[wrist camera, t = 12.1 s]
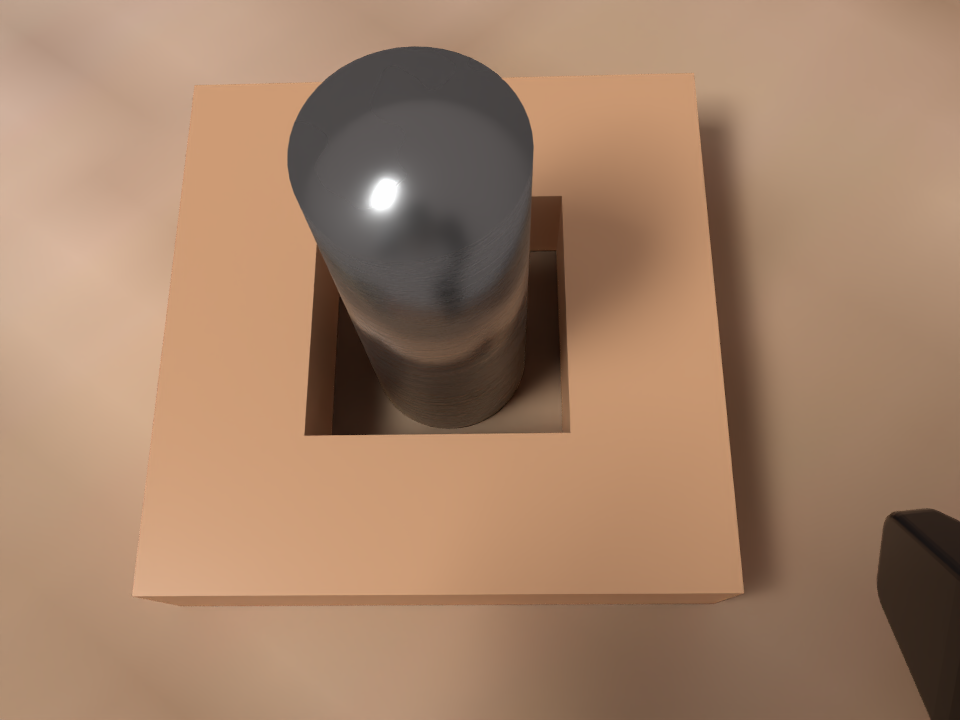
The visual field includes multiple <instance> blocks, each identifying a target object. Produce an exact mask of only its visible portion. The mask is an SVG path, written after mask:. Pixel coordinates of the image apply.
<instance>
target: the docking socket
mask: <svg viewBox="0 0 960 720" xmlns="http://www.w3.org/2000/svg"><path fill="white" fill-rule="evenodd" d="M502 79H503V80H504V81H505V82H506V83H507V84H508V85H509V86H510V87H511V89H512V90H513V91H514V92H515V93H516V95H517V96H518V98H519V100H520V101H521V103H522V105H523V106H524V109H525V111H526V113H527V116H528V118H529V121H530V125H531V129H532V134H533V144H534V152H533V176H532V201H531V225H530V250H529V251H544V250H557V279H558V309H559V339H560V369H561V398H562V428H563V433H507V434H417V435H332V421H333V403H334V385H335V366H336V348H337V329H338V311H339V292H338V289H337V287H336V285H335V283H334V281H333V278H332V276H331V274H330V272H329V270H328V267H327V265H326V263H325V261H324V259H323V256H322V254H321V252H320V250H319V247H318V245H317V243H316V241H315V239H314V236H313V234H312V232H311V230H310V228H309V225H308V223H307V221H306V219H305V217H304V214H303V212H302V210H301V208H300V206H299V203H298V201H297V199H296V197H295V195H294V192H293V189H292V186H291V183H290V179H289V173H288V166H287V151H288V144H289V138H290V134H291V131H292V128H293V125H294V122H295V120H296V118H297V116H298V114H299V112H300V110H301V108H302V107H303V105H304V104H305V102H306V101H307V99H308V98H309V97H310V95H311V94H312V93H313V92H314V91H315V89H316V88H317V87H318V86H319V85H320V84H321V83H323V82H310V83H269V84H229V85H195V87H194V95H193V103H192V111H191V119H190V127H189V135H188V144H187V152H186V160H185V168H184V176H183V184H182V192H181V200H180V209H179V217H178V225H177V233H176V241H175V249H174V257H173V266H172V274H171V282H170V290H169V298H168V306H167V314H166V322H165V331H164V339H163V347H162V355H161V363H160V371H159V379H158V388H157V396H156V404H155V412H154V420H153V428H152V436H151V444H150V453H149V461H148V469H147V477H146V485H145V493H144V501H143V510H142V518H141V526H140V534H139V542H138V550H137V558H136V566H135V575H134V583H133V591H132V596H133V597H138V598H143V599H148V600H153V601H158V602H163V603H168V604H173V605H178V606H317V605H532V604H714V603H717V602H720V601H723V600H726V599H729V598H732V597H735V596H738V595H740V594H743V593H744V587H743V576H742V566H741V556H740V545H739V535H738V524H737V514H736V504H735V493H734V483H733V473H732V462H731V452H730V442H729V431H728V421H727V411H726V400H725V390H724V380H723V369H722V359H721V349H720V338H719V328H718V318H717V307H716V297H715V287H714V276H713V266H712V256H711V245H710V235H709V225H708V214H707V204H706V194H705V183H704V173H703V163H702V152H701V142H700V132H699V121H698V111H697V101H696V90H695V80H694V73H675V74H634V75H594V76H553V77H513V78H502Z"/></svg>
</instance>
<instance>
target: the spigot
mask: <svg viewBox="0 0 960 720" xmlns="http://www.w3.org/2000/svg"><path fill="white" fill-rule="evenodd" d="M533 152H534V144H533V134H532V129H531V125H530V121H529V118H528V116H527V113H526V111H525V109H524V106H523V105H522V103H521V101H520V100H519V98H518V96H517V95H516V93H515V92H514V91H513V90H512V89H511V87H510V86H509V85H508V84H507V83H506V82H505V81H504V80H503V79H502V78H501V77H500V76H499V75H498V74H497V73H495V72H494V71H492V70H491V69H489V68H488V67H487V66H485V65H483V64H482V63H480V62H478V61H476V60H474V59H472V58H470V57H467V56H465V55H462V54H459V53H456V52H452V51H449V50H445V49H439V48H432V47H401V48H394V49H388V50H383V51H379V52H376V53H373V54H369V55H367V56H364V57H362V58H360V59H357V60H355V61H353V62H351V63H349V64H347V65H346V66H344V67H342V68H340V69H339V70H338V71H336V72H335V73H333V74H332V75H331V76H329V77H328V78H327V79H326V80H325V81H324V82H323V83H321V84H320V85H319V86H318V87H317V88H316V89H315V91H314V92H313V93H312V94H311V95H310V97H309V98H308V99H307V101H306V102H305V104H304V105H303V107H302V108H301V110H300V112H299V114H298V116H297V118H296V120H295V122H294V125H293V128H292V131H291V134H290V138H289V144H288V151H287V166H288V173H289V179H290V183H291V186H292V189H293V192H294V195H295V197H296V199H297V201H298V203H299V206H300V208H301V210H302V212H303V214H304V217H305V219H306V221H307V223H308V225H309V228H310V230H311V232H312V234H313V236H314V239H315V241H316V243H317V245H318V247H319V250H320V252H321V254H322V256H323V259H324V261H325V263H326V265H327V267H328V270H329V272H330V274H331V276H332V278H333V281H334V283H335V285H336V287H337V289H338V292H339V294H340V296H341V298H342V300H343V303H344V305H345V307H346V309H347V311H348V314H349V316H350V318H351V320H352V322H353V325H354V327H355V329H356V331H357V333H358V336H359V338H360V340H361V342H362V344H363V347H364V349H365V351H366V353H367V356H368V358H369V360H370V362H371V364H372V367H373V369H374V371H375V373H376V375H377V378H378V380H379V382H380V384H381V386H382V388H383V390H384V392H385V394H386V395H387V397H388V399H389V400H390V401H391V402H392V403H393V405H394V406H395V407H396V408H397V409H398V410H400V411H401V412H402V413H403V414H405V415H406V416H408V417H409V418H411V419H413V420H415V421H417V422H419V423H421V424H424V425H428V426H431V427H437V428H449V429H450V428H461V427H466V426H470V425H473V424H476V423H479V422H481V421H483V420H485V419H487V418H489V417H491V416H492V415H494V414H495V413H497V412H498V411H499V410H500V409H501V408H502V407H504V405H505V404H506V403H507V402H508V401H509V400H510V399H511V397H512V396H513V394H514V393H515V391H516V389H517V387H518V385H519V383H520V381H521V378H522V375H523V371H524V366H525V347H526V323H527V298H528V274H529V250H530V225H531V201H532V176H533Z"/></svg>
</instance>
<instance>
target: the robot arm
mask: <svg viewBox="0 0 960 720" xmlns="http://www.w3.org/2000/svg"><path fill="white" fill-rule="evenodd" d="M877 590H878V596H879V599H880V603H881V605H882V608H883V610H884V612H885V615H886V617H887V619H888V622H889V624H890V626H891V629H892V631H893V633H894V636H895V638H896V640H897V643H898V645H899V647H900V650H901V652H902V654H903V656H904V659H905V661H906V663H907V666H908V668H909V670H910V673H911V675H912V677H913V680H914V682H915V684H916V687H917V689H918V691H919V694H920V696H921V698H922V701H923V703H924V705H925V707H926V710H927V712H928V714H929V717H930V719H931V720H960V521H958V520H956V519H954V518H952V517H950V516H947V515H945V514H943V513H941V512H939V511H937V510H934V509H928V508H926V509H916V510H906V511H897V512H893V513H891V514H890V515H889V516H887V518H886V520H885V522H884V526H883V533H882V541H881V549H880V557H879V565H878V574H877Z"/></svg>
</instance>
